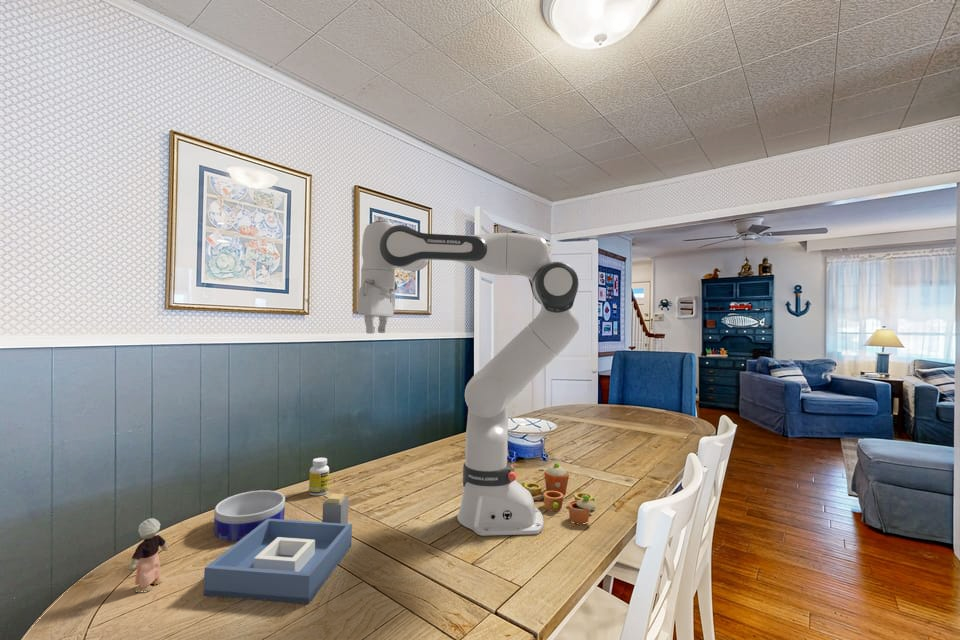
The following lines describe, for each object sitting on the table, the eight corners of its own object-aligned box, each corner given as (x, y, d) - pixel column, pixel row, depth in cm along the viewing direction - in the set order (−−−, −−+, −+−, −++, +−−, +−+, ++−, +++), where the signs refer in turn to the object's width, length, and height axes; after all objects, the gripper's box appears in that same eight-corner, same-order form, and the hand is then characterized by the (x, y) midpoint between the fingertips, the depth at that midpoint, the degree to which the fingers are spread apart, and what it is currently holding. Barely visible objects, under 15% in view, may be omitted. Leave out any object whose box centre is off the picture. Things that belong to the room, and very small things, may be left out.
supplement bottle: (321, 497, 123) (322, 463, 123) (305, 495, 124) (306, 461, 124) (332, 490, 128) (333, 457, 128) (315, 488, 129) (316, 455, 129)
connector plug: (347, 530, 104) (348, 493, 104) (340, 539, 99) (341, 500, 99) (330, 529, 104) (331, 492, 104) (321, 537, 100) (323, 499, 100)
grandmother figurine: (149, 575, 83) (152, 510, 83) (170, 575, 84) (172, 510, 84) (120, 601, 76) (122, 529, 76) (142, 600, 76) (145, 529, 76)
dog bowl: (249, 547, 95) (250, 520, 95) (197, 535, 99) (198, 509, 99) (297, 518, 109) (298, 494, 110) (250, 509, 114) (251, 486, 114)
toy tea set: (513, 495, 128) (514, 463, 128) (551, 485, 137) (552, 455, 137) (578, 531, 107) (579, 493, 107) (618, 517, 115) (619, 481, 115)
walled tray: (351, 546, 96) (351, 524, 96) (308, 603, 76) (309, 575, 76) (267, 540, 98) (267, 518, 98) (203, 595, 78) (204, 567, 78)
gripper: (376, 278, 104) (375, 334, 104) (399, 285, 125) (397, 332, 125) (351, 277, 105) (350, 333, 105) (378, 285, 125) (376, 332, 125)
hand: (376, 333), depth 115 cm, fingers open, 8 cm apart
